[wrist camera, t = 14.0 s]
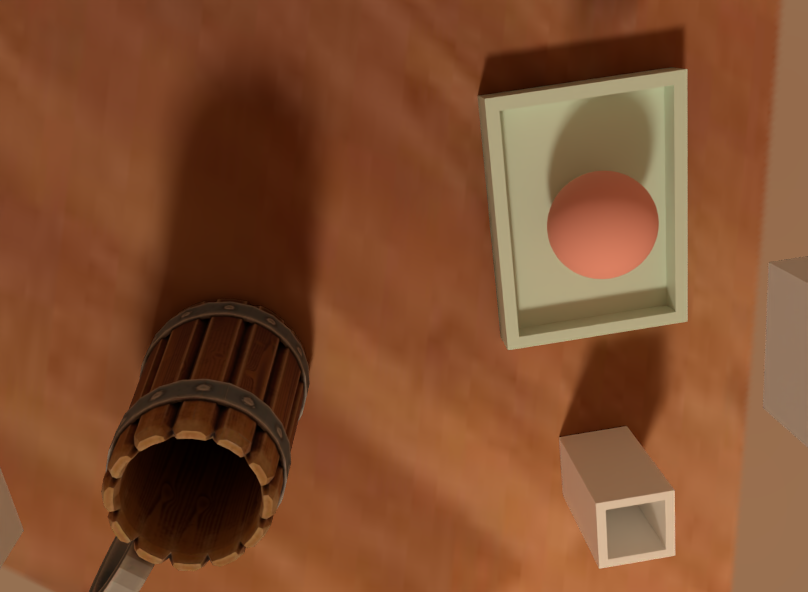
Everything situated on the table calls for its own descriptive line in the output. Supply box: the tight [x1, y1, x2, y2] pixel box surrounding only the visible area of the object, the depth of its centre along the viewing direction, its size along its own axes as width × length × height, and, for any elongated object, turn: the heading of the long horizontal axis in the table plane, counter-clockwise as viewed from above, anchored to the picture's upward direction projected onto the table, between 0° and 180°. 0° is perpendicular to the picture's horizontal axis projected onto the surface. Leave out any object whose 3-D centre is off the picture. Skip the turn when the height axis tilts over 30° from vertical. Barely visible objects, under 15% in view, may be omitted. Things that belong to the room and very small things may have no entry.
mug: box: [89, 299, 309, 592], centre depth 43 cm, size 16×11×15 cm
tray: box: [478, 67, 688, 350], centre depth 47 cm, size 16×12×2 cm
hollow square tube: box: [559, 426, 675, 569], centre depth 51 cm, size 5×5×8 cm
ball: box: [547, 171, 659, 279], centre depth 44 cm, size 6×6×6 cm
